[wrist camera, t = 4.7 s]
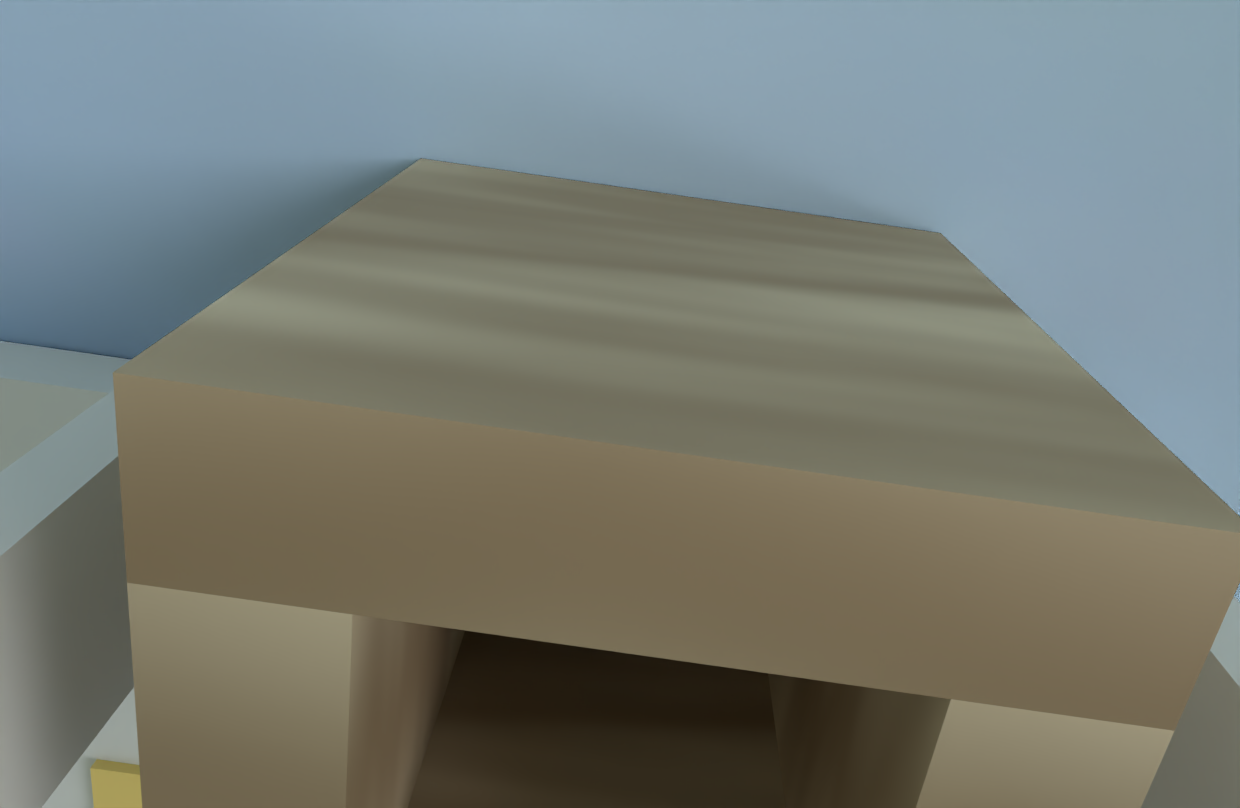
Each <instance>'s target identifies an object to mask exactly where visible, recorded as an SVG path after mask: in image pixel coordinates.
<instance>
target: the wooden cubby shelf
mask: <svg viewBox="0 0 1240 808" xmlns="http://www.w3.org/2000/svg"><path fill="white" fill-rule="evenodd" d="M113 385H114V400H115V414H116V429H117V444H118V459H119V473H120V488H121V503H122V517H123V532H124V547H125V561H126V576H127V591H128V605H129V620H130V635H131V649H132V664H133V679H134V694H135V708H136V723H137V738H138V752H139V767H140V782H141V796H142V808H1141V806H1142V804H1143V802H1144V800H1145V797H1146V795H1147V793H1148V790H1149V788H1150V786H1151V784H1152V781H1153V779H1154V777H1155V774H1156V772H1157V770H1158V768H1159V765H1160V763H1161V761H1162V759H1163V756H1164V754H1165V752H1166V749H1167V747H1168V745H1169V743H1170V740H1171V738H1172V736H1173V733H1174V731H1175V729H1176V727H1177V724H1178V722H1179V720H1180V718H1181V715H1182V713H1183V711H1184V708H1185V706H1186V704H1187V702H1188V699H1189V697H1190V695H1191V692H1192V690H1193V688H1194V686H1195V683H1196V681H1197V679H1198V676H1199V674H1200V672H1201V670H1202V667H1203V665H1204V663H1205V661H1206V658H1207V656H1208V654H1209V651H1210V649H1211V647H1212V645H1213V642H1214V640H1215V638H1216V635H1217V633H1218V631H1219V629H1220V626H1221V624H1222V622H1223V620H1224V617H1225V615H1226V613H1227V610H1228V608H1229V606H1230V604H1231V601H1232V599H1233V597H1234V594H1235V592H1236V590H1237V588H1238V585H1239V583H1240V516H1239V515H1238V514H1236V513H1235V512H1234V511H1233V510H1232V509H1231V508H1230V507H1229V506H1228V505H1227V504H1226V503H1225V502H1224V501H1223V500H1222V499H1221V498H1220V497H1219V496H1217V495H1216V494H1215V493H1214V492H1213V491H1212V490H1211V489H1210V488H1209V487H1208V486H1207V485H1206V484H1205V483H1204V482H1203V481H1202V480H1201V479H1200V478H1198V477H1197V476H1196V475H1195V474H1194V473H1193V472H1192V471H1191V470H1190V469H1189V468H1188V467H1187V466H1186V465H1185V464H1184V463H1183V462H1182V461H1181V460H1179V459H1178V458H1177V457H1176V456H1175V455H1174V454H1173V453H1172V452H1171V451H1170V450H1169V449H1168V448H1167V447H1166V446H1165V445H1164V444H1163V443H1162V442H1160V441H1159V440H1158V439H1157V438H1156V437H1155V436H1154V435H1153V434H1152V433H1151V432H1150V431H1149V430H1148V429H1147V428H1146V427H1145V426H1144V425H1143V424H1141V423H1140V422H1139V421H1138V420H1137V419H1136V418H1135V417H1134V416H1133V415H1132V414H1131V413H1130V412H1129V411H1128V410H1127V409H1126V408H1125V407H1124V406H1122V405H1121V404H1120V403H1119V402H1118V401H1117V400H1116V399H1115V398H1114V397H1113V396H1112V395H1111V394H1110V393H1109V392H1108V391H1107V390H1106V389H1105V388H1103V387H1102V386H1101V385H1100V384H1099V383H1098V382H1097V381H1096V380H1095V379H1094V378H1093V377H1092V376H1091V375H1090V374H1089V373H1088V372H1087V371H1086V370H1084V369H1083V368H1082V367H1081V366H1080V365H1079V364H1078V363H1077V362H1076V361H1075V360H1074V359H1073V358H1072V357H1071V356H1070V355H1069V354H1068V353H1067V352H1065V351H1064V350H1063V349H1062V348H1061V347H1060V346H1059V345H1058V344H1057V343H1056V342H1055V341H1054V340H1053V339H1052V338H1051V337H1050V336H1049V335H1048V334H1046V333H1045V332H1044V331H1043V330H1042V329H1041V328H1040V327H1039V326H1038V325H1037V324H1036V323H1035V322H1034V321H1033V320H1032V319H1031V318H1030V317H1029V316H1027V315H1026V314H1025V313H1024V312H1023V311H1022V310H1021V309H1020V308H1019V307H1018V306H1017V305H1016V304H1015V303H1014V302H1013V301H1012V300H1011V299H1010V298H1008V297H1007V296H1006V295H1005V294H1004V293H1003V292H1002V291H1001V290H1000V289H999V288H998V287H997V286H996V285H995V284H994V283H993V282H992V281H991V280H989V279H988V278H987V277H986V276H985V275H984V274H983V273H982V272H981V271H980V270H979V269H978V268H977V267H976V266H975V265H974V264H973V263H972V262H970V261H969V260H968V259H967V258H966V257H965V256H964V255H963V254H962V253H961V252H960V251H959V250H958V249H957V248H956V247H955V246H954V245H953V244H951V243H950V242H949V241H948V240H947V239H946V238H945V237H944V236H943V235H942V234H941V233H936V232H929V231H922V230H916V229H909V228H902V227H895V226H888V225H881V224H874V223H867V222H860V221H853V220H846V219H839V218H832V217H825V216H818V215H811V214H804V213H797V212H790V211H783V210H776V209H769V208H762V207H756V206H749V205H742V204H735V203H728V202H721V201H714V200H707V199H700V198H693V197H686V196H679V195H672V194H665V193H658V192H651V191H644V190H637V189H630V188H623V187H616V186H609V185H602V184H595V183H589V182H582V181H575V180H568V179H561V178H554V177H547V176H540V175H533V174H526V173H519V172H512V171H505V170H498V169H491V168H484V167H477V166H470V165H463V164H456V163H449V162H442V161H435V160H428V159H422V158H421V159H419V160H418V161H416V162H415V163H413V164H412V165H411V166H409V167H408V168H406V169H405V170H403V171H402V172H401V173H399V174H398V175H396V176H395V177H393V178H392V179H390V180H389V181H388V182H386V183H385V184H383V185H382V186H380V187H379V188H378V189H376V190H375V191H373V192H372V193H370V194H369V195H367V196H366V197H365V198H363V199H362V200H360V201H359V202H357V203H356V204H354V205H353V206H352V207H350V208H349V209H347V210H346V211H344V212H343V213H342V214H340V215H339V216H337V217H336V218H334V219H333V220H331V221H330V222H329V223H327V224H326V225H324V226H323V227H321V228H320V229H318V230H317V231H316V232H314V233H313V234H311V235H310V236H308V237H307V238H306V239H304V240H303V241H301V242H300V243H298V244H297V245H295V246H294V247H293V248H291V249H290V250H288V251H287V252H285V253H284V254H283V255H281V256H280V257H278V258H277V259H275V260H274V261H272V262H271V263H270V264H268V265H267V266H265V267H264V268H262V269H261V270H259V271H258V272H257V273H255V274H254V275H252V276H251V277H249V278H248V279H247V280H245V281H244V282H242V283H241V284H239V285H238V286H236V287H235V288H234V289H232V290H231V291H229V292H228V293H226V294H225V295H223V296H222V297H221V298H219V299H218V300H216V301H215V302H213V303H212V304H211V305H209V306H208V307H206V308H205V309H203V310H202V311H200V312H199V313H198V314H196V315H195V316H193V317H192V318H190V319H189V320H188V321H186V322H185V323H183V324H182V325H180V326H179V327H177V328H176V329H175V330H173V331H172V332H170V333H169V334H167V335H166V336H164V337H163V338H162V339H160V340H159V341H157V342H156V343H154V344H153V345H152V346H150V347H149V348H147V349H146V350H144V351H143V352H141V353H140V354H139V355H137V356H136V357H134V358H133V359H131V360H130V361H128V362H127V363H126V364H124V365H123V366H121V367H120V368H118V369H117V370H116V371H114V372H113Z"/></svg>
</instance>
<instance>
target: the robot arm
mask: <svg viewBox="0 0 1240 808" xmlns="http://www.w3.org/2000/svg"><path fill="white" fill-rule="evenodd" d="M133 688H134V679H133V664H132V649H131V635H130V620H129V605H128V591H127V576H126V561H125V547H124V532H123V517H122V503H121V488H120V473H119V459H118V444H117V429H116V414H115V400H114V390H113V391H111V392H110V393H109V394H107V395H106V396H105V397H103V398H102V399H100V400H99V401H98V402H96V403H95V404H94V405H92V406H91V407H89V408H88V409H87V410H85V411H84V412H83V413H81V414H80V415H78V416H77V417H76V418H74V419H73V420H72V421H70V422H69V423H67V424H66V425H65V426H63V427H62V428H61V429H59V430H58V431H56V432H55V433H54V434H52V435H51V436H50V437H48V438H47V439H45V440H44V441H43V442H41V443H40V444H39V445H37V446H36V447H34V448H33V449H32V450H30V451H29V452H28V453H26V454H25V455H24V456H22V457H21V458H19V459H18V460H17V461H15V462H14V463H13V464H11V465H10V466H8V467H7V468H6V469H4V470H3V471H2V472H0V808H42V806H43V805H44V804H45V802H46V801H47V800H48V799H49V797H50V796H51V795H52V793H53V792H54V791H55V789H56V788H57V787H58V786H59V784H60V783H61V782H62V780H63V779H64V778H65V776H66V775H67V774H68V772H69V771H70V770H71V769H72V767H73V766H74V765H75V763H76V762H77V761H78V759H79V758H80V757H81V755H82V754H83V753H84V752H85V750H86V749H87V748H88V746H89V745H90V744H91V742H92V741H93V740H94V739H95V737H96V736H97V735H98V733H99V732H100V731H101V729H102V728H103V727H104V725H105V724H106V723H107V722H108V720H109V719H110V718H111V716H112V715H113V714H114V712H115V711H116V710H117V709H118V707H119V706H120V705H121V703H122V702H123V701H124V699H125V698H126V697H127V695H128V694H129V693H130V692H131V690H132V689H133ZM1141 808H1240V602H1239V601H1238V600H1237V599H1236V598H1235V597H1233V599H1232V601H1231V604H1230V606H1229V608H1228V610H1227V613H1226V615H1225V617H1224V620H1223V622H1222V624H1221V626H1220V629H1219V631H1218V633H1217V635H1216V638H1215V640H1214V642H1213V645H1212V647H1211V649H1210V651H1209V654H1208V656H1207V658H1206V661H1205V663H1204V665H1203V667H1202V670H1201V672H1200V674H1199V676H1198V679H1197V681H1196V683H1195V686H1194V688H1193V690H1192V692H1191V695H1190V697H1189V699H1188V702H1187V704H1186V706H1185V708H1184V711H1183V713H1182V715H1181V718H1180V720H1179V722H1178V724H1177V727H1176V729H1175V731H1174V733H1173V736H1172V738H1171V740H1170V743H1169V745H1168V747H1167V749H1166V752H1165V754H1164V756H1163V759H1162V761H1161V763H1160V765H1159V768H1158V770H1157V772H1156V774H1155V777H1154V779H1153V781H1152V784H1151V786H1150V788H1149V790H1148V793H1147V795H1146V797H1145V800H1144V802H1143V804H1142V806H1141Z"/></svg>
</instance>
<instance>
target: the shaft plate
mask: <svg viewBox="0 0 1240 808" xmlns="http://www.w3.org/2000/svg"><path fill="white" fill-rule="evenodd" d="M130 360H131V359H124V358H117V357H110V356H103V355H96V354H89V353H82V352H75V351H68V350H61V349H54V348H47V347H40V346H33V345H26V344H19V343H12V342H5V341H0V472H2V471H3V470H4V469H6V468H7V467H8V466H10V465H11V464H13V463H14V462H15V461H17V460H18V459H19V458H21V457H22V456H24V455H25V454H26V453H28V452H29V451H30V450H32V449H33V448H34V447H36V446H37V445H39V444H40V443H41V442H43V441H44V440H45V439H47V438H48V437H50V436H51V435H52V434H54V433H55V432H56V431H58V430H59V429H61V428H62V427H63V426H65V425H66V424H67V423H69V422H70V421H72V420H73V419H74V418H76V417H77V416H78V415H80V414H81V413H83V412H84V411H85V410H87V409H88V408H89V407H91V406H92V405H94V404H95V403H96V402H98V401H99V400H100V399H102V398H103V397H105V396H106V395H107V394H109V393H110V392H111V391H113V390H114V385H113V372H114V371H116V370H117V369H118V368H120V367H121V366H123V365H124V364H126V363H127V362H128V361H130ZM42 808H142V796H141V782H140V767H139V752H138V738H137V723H136V708H135V694H134V688H133V689H132V690H131V692H130V693H129V694H128V695H127V697H126V698H125V699H124V701H123V702H122V703H121V705H120V706H119V707H118V709H117V710H116V711H115V712H114V714H113V715H112V716H111V718H110V719H109V720H108V722H107V723H106V724H105V725H104V727H103V728H102V729H101V731H100V732H99V733H98V735H97V736H96V737H95V739H94V740H93V741H92V742H91V744H90V745H89V746H88V748H87V749H86V750H85V752H84V753H83V754H82V755H81V757H80V758H79V759H78V761H77V762H76V763H75V765H74V766H73V767H72V769H71V770H70V771H69V772H68V774H67V775H66V776H65V778H64V779H63V780H62V782H61V783H60V784H59V786H58V787H57V788H56V789H55V791H54V792H53V793H52V795H51V796H50V797H49V799H48V800H47V801H46V802H45V804H44V805H43V806H42Z"/></svg>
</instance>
